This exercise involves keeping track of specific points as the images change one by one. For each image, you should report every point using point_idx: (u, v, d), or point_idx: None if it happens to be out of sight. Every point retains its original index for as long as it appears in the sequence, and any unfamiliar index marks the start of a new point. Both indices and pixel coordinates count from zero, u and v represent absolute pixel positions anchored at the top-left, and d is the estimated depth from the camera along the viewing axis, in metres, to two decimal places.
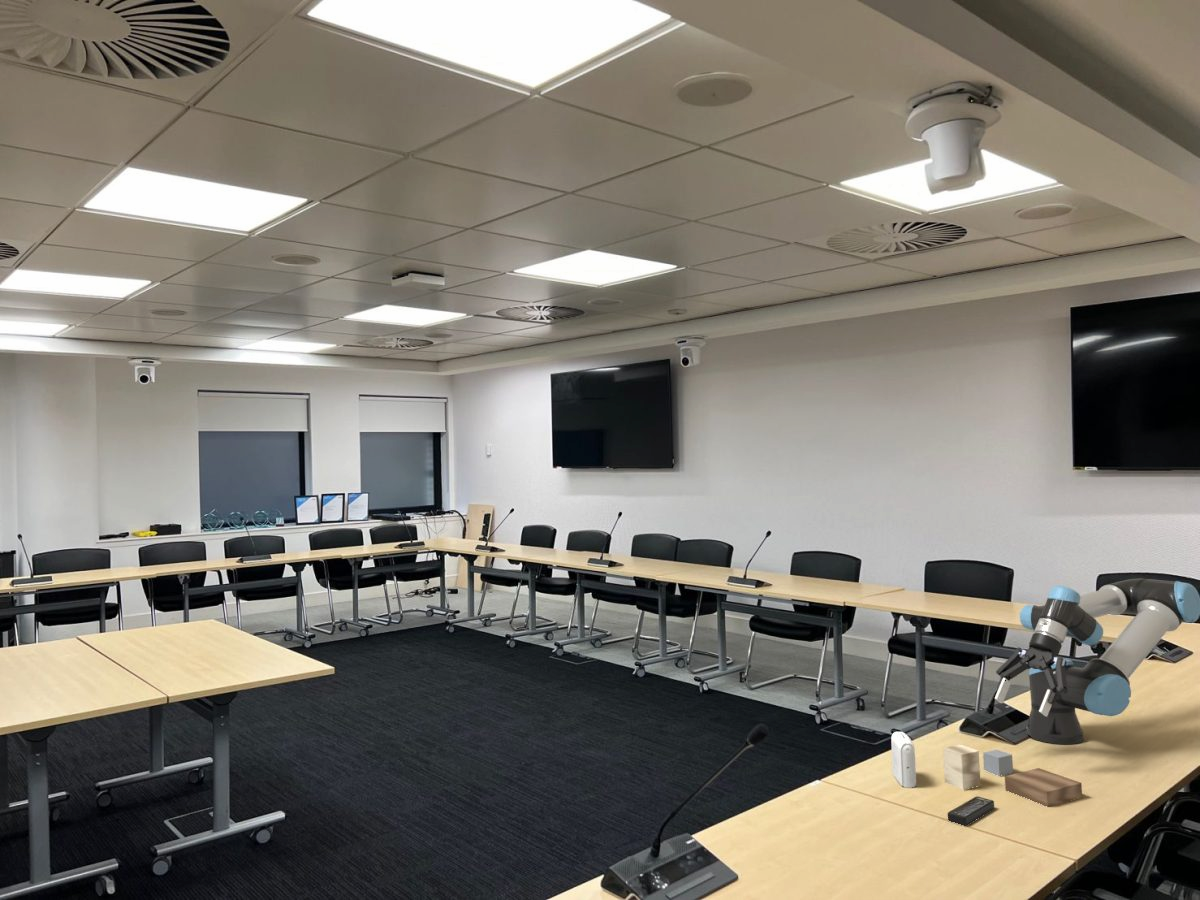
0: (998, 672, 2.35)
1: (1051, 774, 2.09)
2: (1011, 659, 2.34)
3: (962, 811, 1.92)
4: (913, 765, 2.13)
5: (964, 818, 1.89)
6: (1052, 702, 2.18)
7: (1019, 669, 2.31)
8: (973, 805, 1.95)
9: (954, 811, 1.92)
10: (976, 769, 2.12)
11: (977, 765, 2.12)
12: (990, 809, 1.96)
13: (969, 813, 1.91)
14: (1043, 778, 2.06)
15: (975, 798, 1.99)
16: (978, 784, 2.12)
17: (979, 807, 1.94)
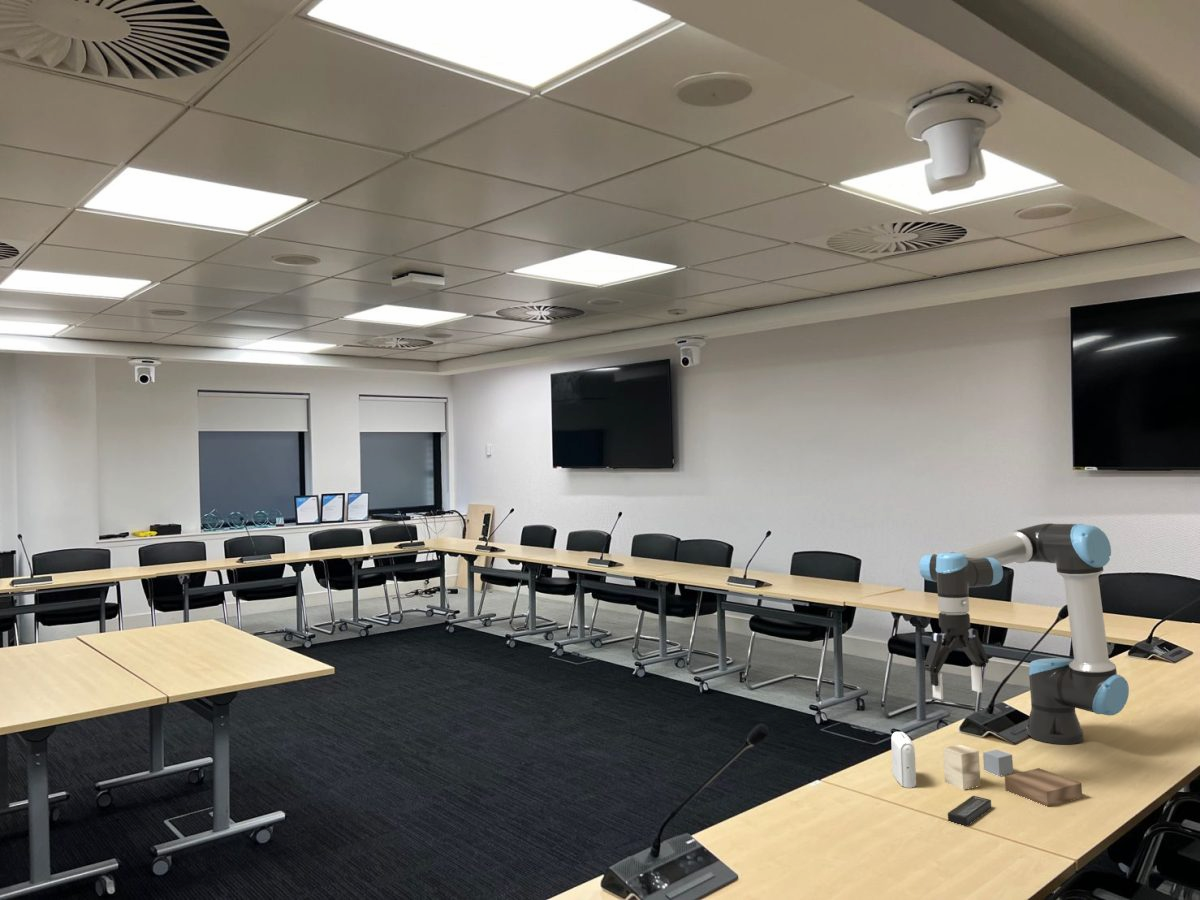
0: (933, 670, 2.10)
1: (1052, 774, 2.09)
2: (938, 650, 2.11)
3: (962, 811, 1.92)
4: (913, 765, 2.13)
5: (965, 818, 1.89)
6: None
7: None
8: (971, 805, 1.96)
9: (954, 811, 1.92)
10: (976, 769, 2.12)
11: (977, 765, 2.12)
12: (988, 808, 1.97)
13: (969, 813, 1.91)
14: (1043, 778, 2.06)
15: (972, 797, 2.00)
16: (978, 784, 2.12)
17: (978, 806, 1.94)
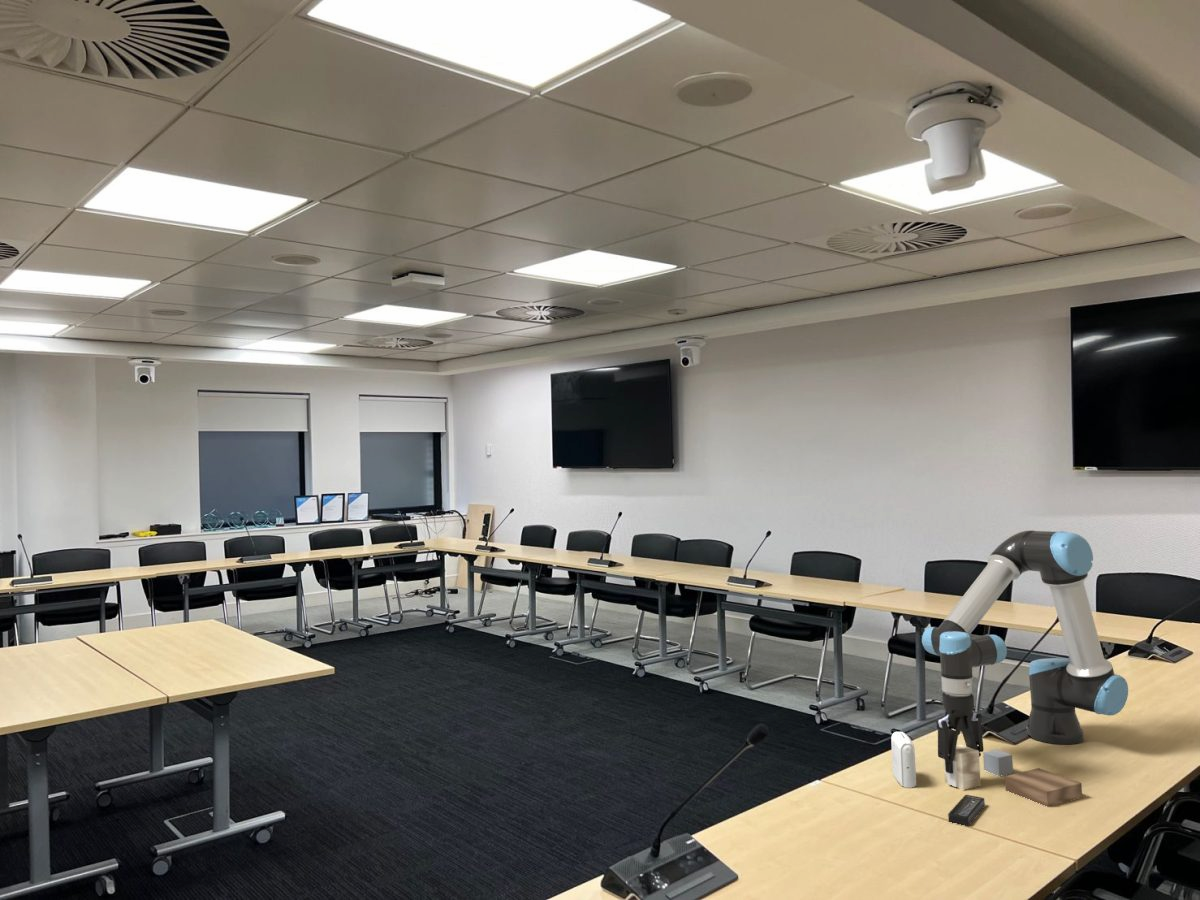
0: (947, 757, 2.10)
1: (1052, 774, 2.09)
2: (947, 736, 2.11)
3: (961, 811, 1.92)
4: (913, 765, 2.13)
5: (966, 818, 1.89)
6: None
7: None
8: (968, 804, 1.96)
9: (954, 811, 1.92)
10: (976, 769, 2.12)
11: (977, 765, 2.12)
12: (982, 807, 1.98)
13: (968, 813, 1.91)
14: (1043, 778, 2.06)
15: (966, 796, 2.01)
16: (978, 784, 2.12)
17: (974, 806, 1.95)
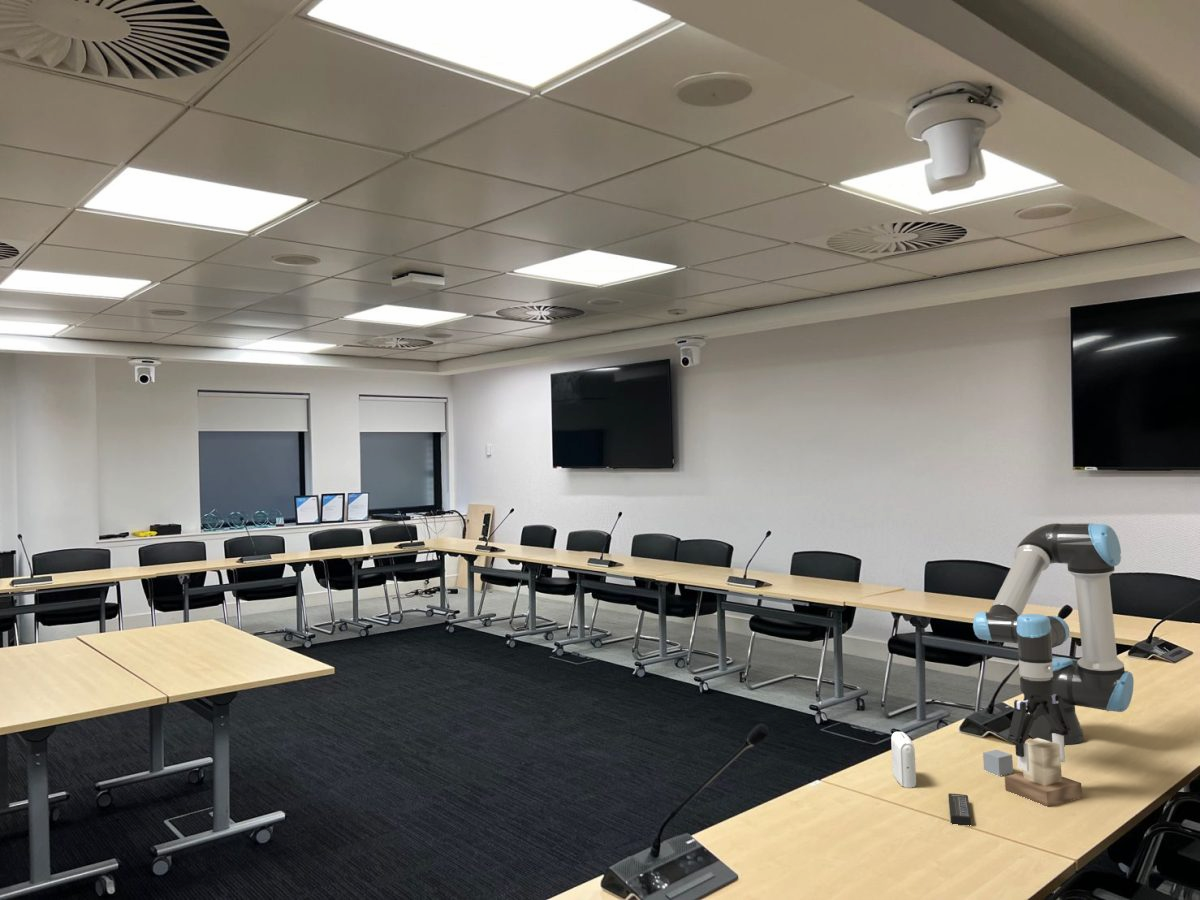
0: (1018, 740, 2.01)
1: None
2: (1023, 719, 2.02)
3: (959, 811, 1.92)
4: (913, 765, 2.13)
5: (970, 818, 1.89)
6: None
7: None
8: (959, 803, 1.97)
9: (954, 812, 1.92)
10: (1057, 763, 2.04)
11: (1058, 759, 2.04)
12: None
13: (967, 812, 1.92)
14: None
15: (951, 795, 2.02)
16: (1059, 779, 2.04)
17: (966, 804, 1.96)
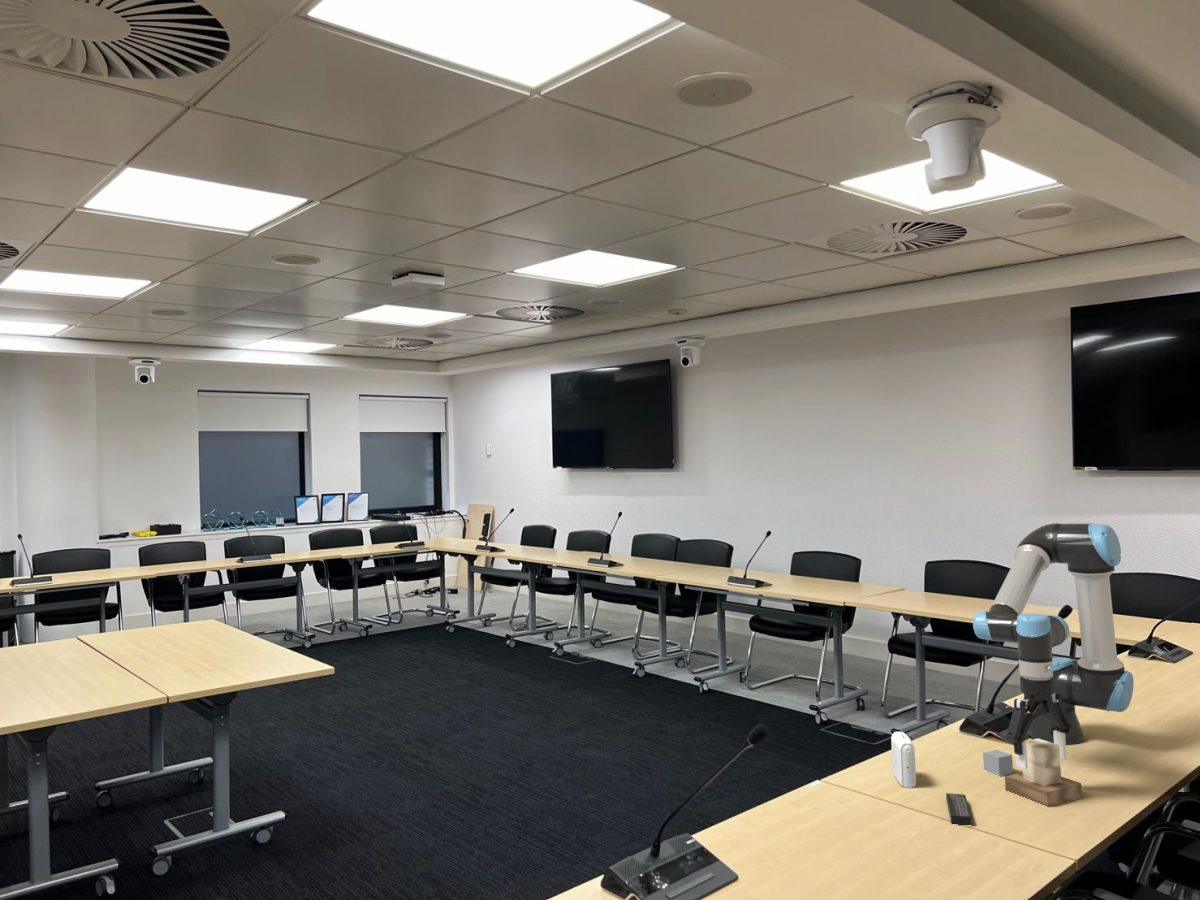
0: (1017, 738, 2.01)
1: None
2: (1022, 718, 2.02)
3: (959, 811, 1.92)
4: (913, 765, 2.13)
5: (970, 818, 1.89)
6: None
7: None
8: (958, 803, 1.97)
9: (954, 813, 1.92)
10: (1057, 764, 2.04)
11: (1058, 760, 2.04)
12: None
13: (967, 812, 1.92)
14: None
15: (949, 795, 2.02)
16: (1059, 779, 2.04)
17: (965, 804, 1.96)
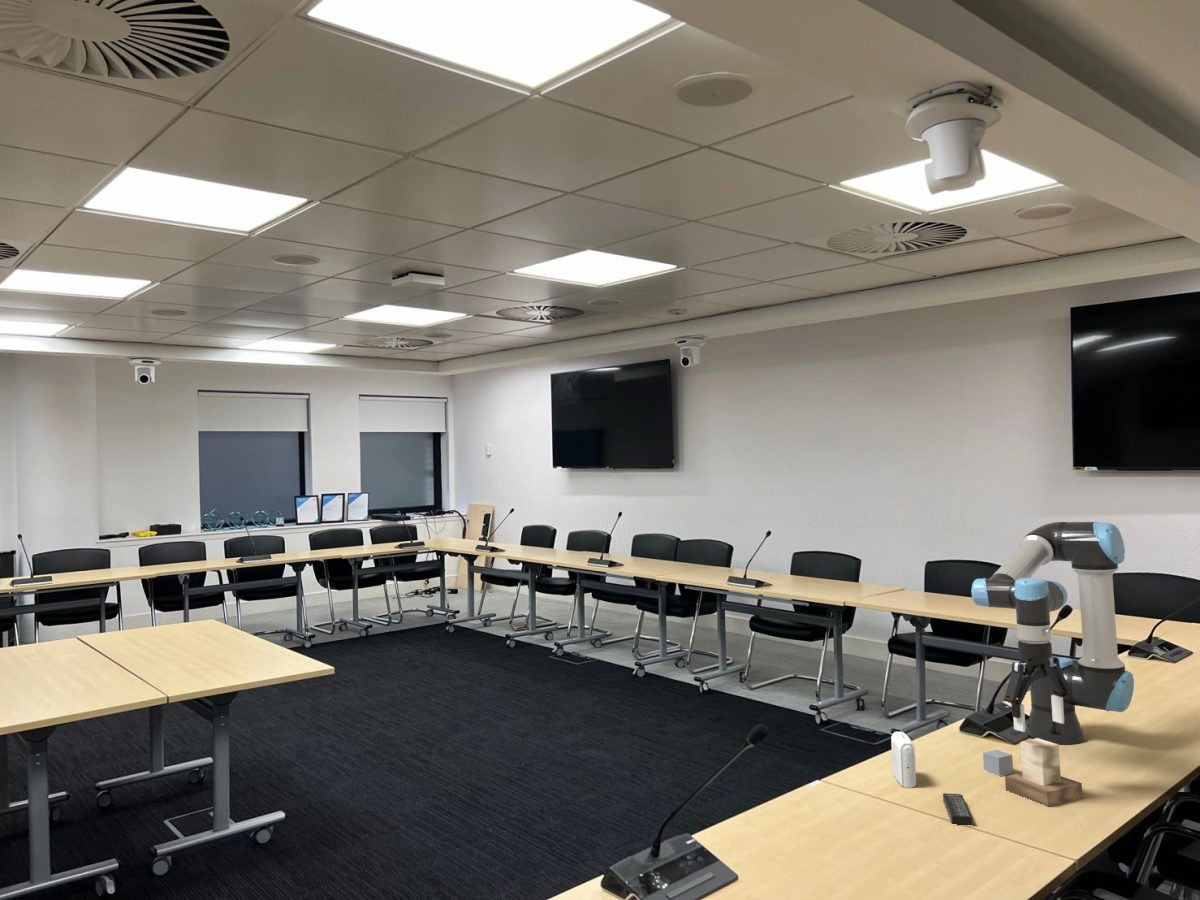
0: (1015, 701, 2.02)
1: None
2: (1020, 681, 2.03)
3: (959, 811, 1.92)
4: (913, 765, 2.13)
5: (971, 818, 1.89)
6: None
7: None
8: (956, 803, 1.97)
9: (954, 813, 1.91)
10: (1056, 763, 2.04)
11: (1057, 759, 2.04)
12: None
13: (966, 812, 1.92)
14: None
15: (946, 795, 2.02)
16: (1058, 779, 2.04)
17: (963, 803, 1.97)
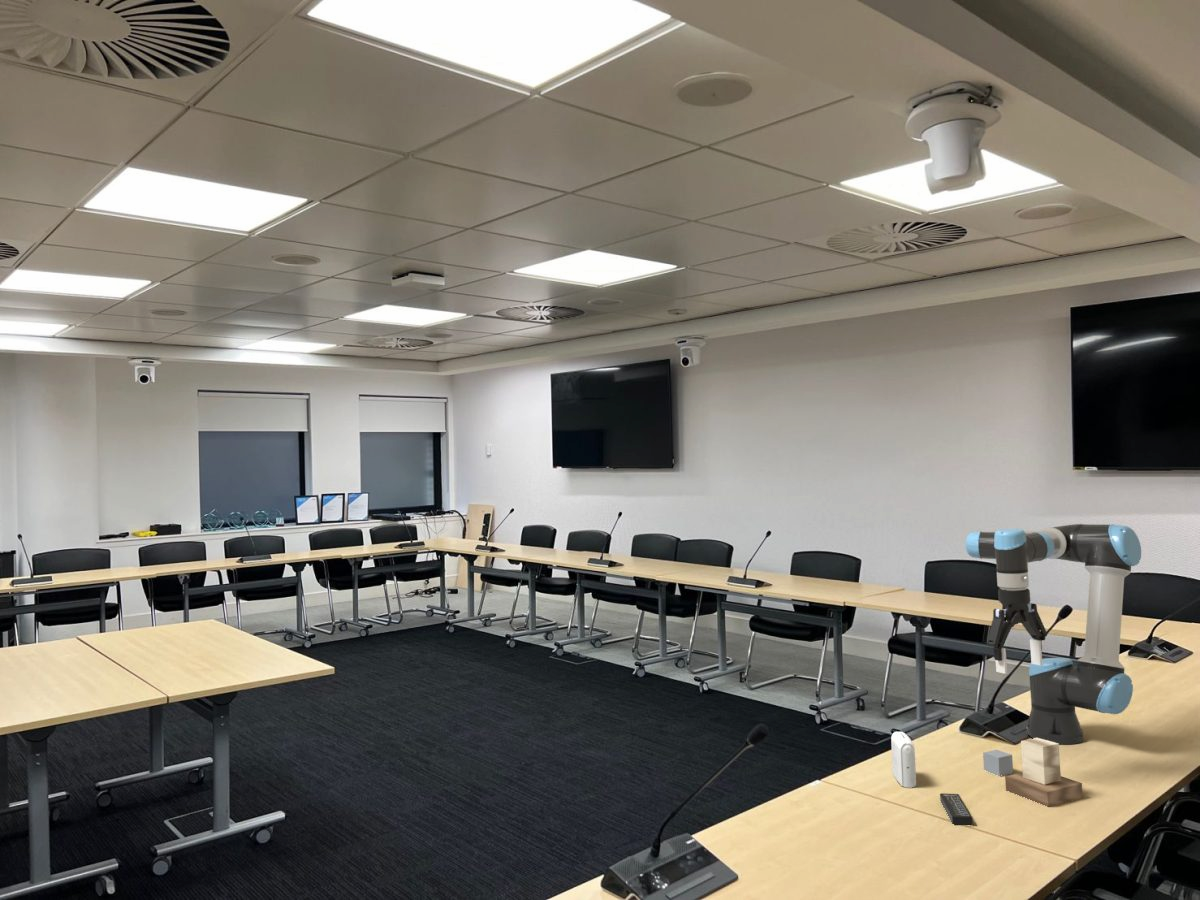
0: (997, 645, 2.13)
1: None
2: (1001, 625, 2.14)
3: (959, 811, 1.92)
4: (913, 765, 2.13)
5: (971, 818, 1.89)
6: None
7: None
8: (954, 803, 1.97)
9: (954, 813, 1.91)
10: (1057, 762, 2.04)
11: (1057, 758, 2.04)
12: None
13: (966, 811, 1.92)
14: None
15: (943, 795, 2.02)
16: (1058, 778, 2.04)
17: (961, 803, 1.97)
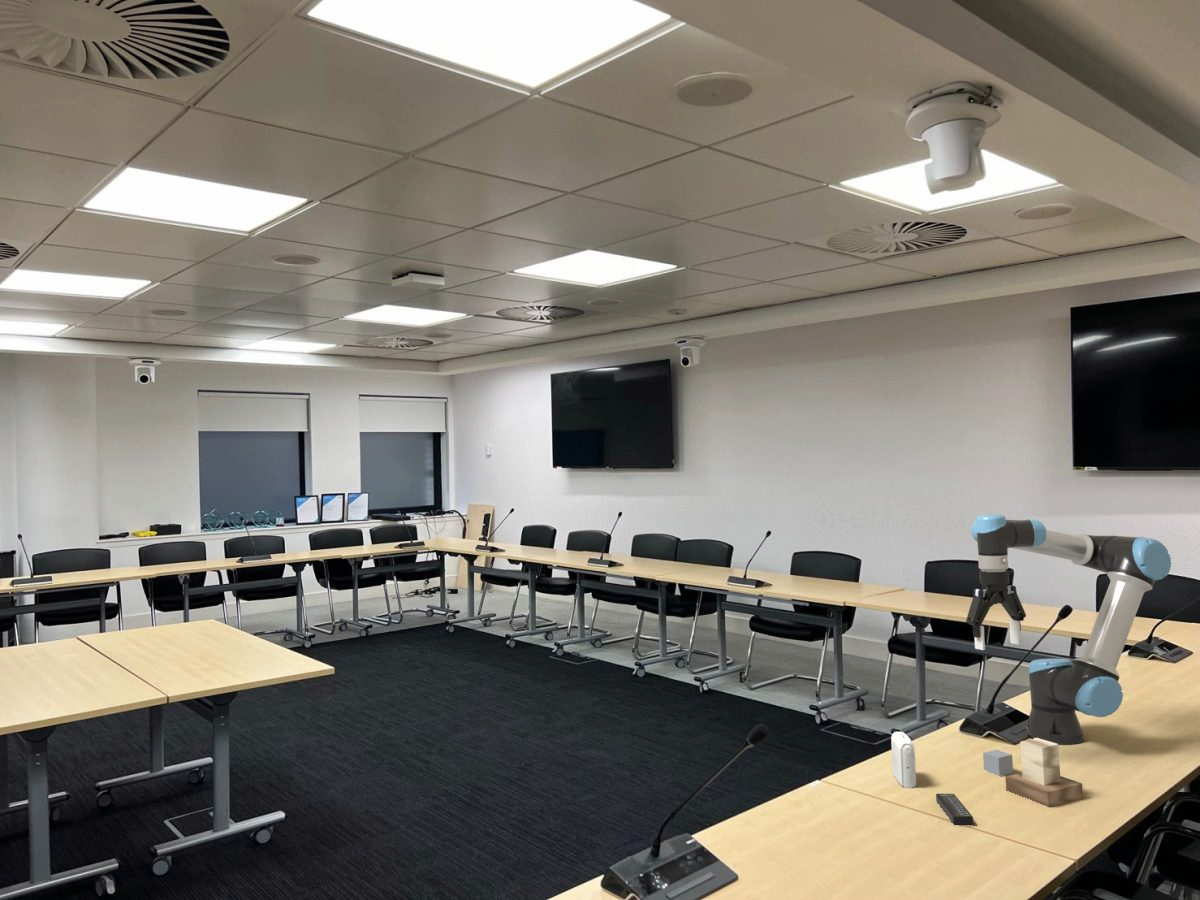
0: (975, 622, 2.26)
1: None
2: (980, 604, 2.27)
3: (958, 811, 1.92)
4: (913, 765, 2.13)
5: (972, 817, 1.89)
6: None
7: None
8: (952, 803, 1.97)
9: (954, 813, 1.91)
10: (1056, 763, 2.04)
11: (1057, 759, 2.04)
12: None
13: (966, 811, 1.92)
14: None
15: (940, 796, 2.02)
16: (1058, 778, 2.04)
17: (959, 803, 1.97)
